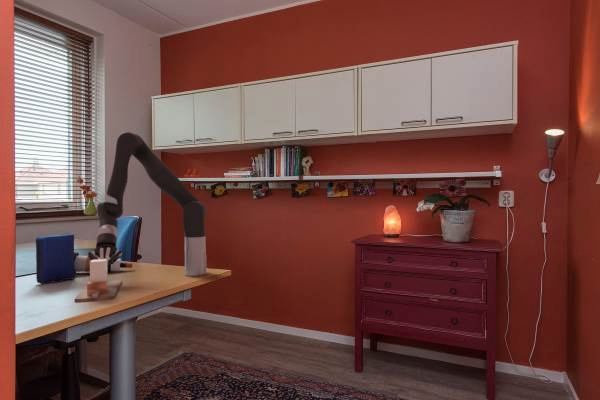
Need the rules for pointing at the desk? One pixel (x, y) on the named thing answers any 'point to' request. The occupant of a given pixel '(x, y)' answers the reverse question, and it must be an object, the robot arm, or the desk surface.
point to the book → (55, 258)
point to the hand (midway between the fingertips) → (103, 272)
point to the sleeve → (98, 270)
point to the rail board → (101, 296)
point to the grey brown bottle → (84, 261)
